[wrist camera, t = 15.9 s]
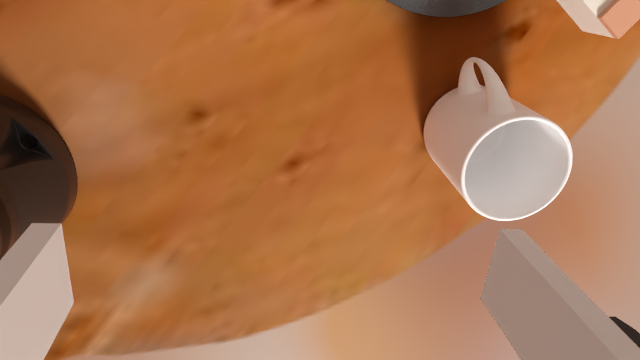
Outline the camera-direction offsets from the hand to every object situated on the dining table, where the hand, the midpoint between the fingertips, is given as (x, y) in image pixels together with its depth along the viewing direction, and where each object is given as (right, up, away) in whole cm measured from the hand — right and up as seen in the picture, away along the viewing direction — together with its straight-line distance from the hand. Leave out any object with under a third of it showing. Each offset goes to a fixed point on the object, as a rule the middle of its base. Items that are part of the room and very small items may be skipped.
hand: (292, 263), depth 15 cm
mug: (+14, +9, +30) cm, 35 cm away
